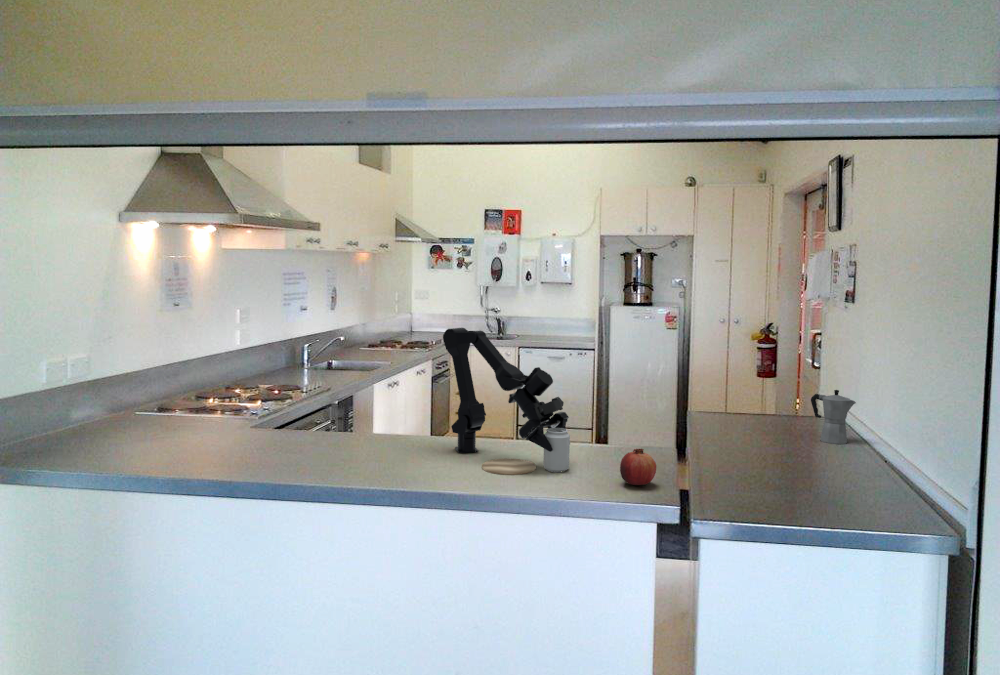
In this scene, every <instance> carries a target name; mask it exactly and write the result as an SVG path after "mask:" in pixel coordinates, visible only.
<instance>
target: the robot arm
mask: <svg viewBox="0 0 1000 675" xmlns="http://www.w3.org/2000/svg"><path fill="white" fill-rule="evenodd" d="M442 340H443V343H444V346H445V350H446V351H447V352H448V354H449V355H450V356H451V358H452V362H453V369H454V374H455V379H456V384H457V390H458V395H459V401H460V402H459V406H458V409H457V419H456V420H455V422H454V423H453V424H452V425H451V426H450V427H451V431H452V433H454V434H456V435H457V446H455V447H454V450H455V451H456V452H457V453H458V454H467V453H478V452H479V449H478V448H477V447H476V441H477V440H476V439H477V438H476V437H477V436H476V434H477V433H476V432H477V431H478V432H479V431H481V430H482V427H483V425H484V423H485V421H486V416H487V413H486V411H485V403H484V402H479V401H478V399H477V397H476V392H475V391H476V390H475V386H474V381H473V377H472V371H471V366H470V360H469V354H468V353H469V350H470V348H471V344H472V345H473V347H474V348H475V349H476V351H478V352H479V354H480V355H481V356H482V357H483V360H485V361H486V363H487V364H488V365H489V366H490V368H491V369H492V370H493V372H494V374H495V379H496V382H497V383H498V385H499V386H500V387H499V388H501V389H502V390H503V391H505V392H506V391H507V392H510V391H515V390H516V391H515V392H513V393H509V395H508V396H509V399H508V400H507V401H508V404H513V403H516V404H517V406H518V407H519V408H520V410H521V411H522V413H523V414H521V416H522V418H523V419H526V418H527V419H528V420H527V421H526V422H525V423H524V424H523V425H522V426H521V427H520V428H519V429H518V435H519V436H520V439H522V440H524V439H525V440H526V441H529V442H531V443H533V444H536V445H537V446H539V447H541V448H542V449H543V450H544V449H546V450H548V451H549V452H551V451H552V450H553V448H552V446H551V445H550V443H549V441H548V440H547V438H546V436H545V435H544V434H545V433H544V429H545V428H547V429H549V428H564V429H567V428H566V424H567V422H568V419H569V418H570V417H569V415H568V414H567V413H566V412H565V411H562V410H564V409H563V406H564V404H565V403H564V401H563V400H562V399H561V398H560V397H559V396H556V397H554V398H551V401H547V402H545V401H539V399H538V398H537V397H540V396H542V395H543V394H544V393H545V392H546V391H547V390H548V388H550V386H552V384H553V383H554V379H553V377H552V376H551V374H550V373H548V372H546V371H544V369H543V370H542V369H541V367H534V368H533V370H532V371H531V372H530V373H529V375H526V374H524V373H523V372H522V371H521V370H520V369H519V368H518V367H517V366H515V365H513V364H511V363H510V362H509V361H507V360H506V358H505V357H504V356H503V355H502V353H501V352H500V351H499V350H498V349H497V347H496V346H495V345H494V344H493V343H492V341H491V340H490V339H489V338H488V337H487V333H486V332H485V331H483V330H480V329H479V330H469V329H466V328H464V327H455V328H448V329H446V330H445V331H444V333H443V334H442ZM557 411H559V412H557ZM555 412H556V413H555Z"/></svg>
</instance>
